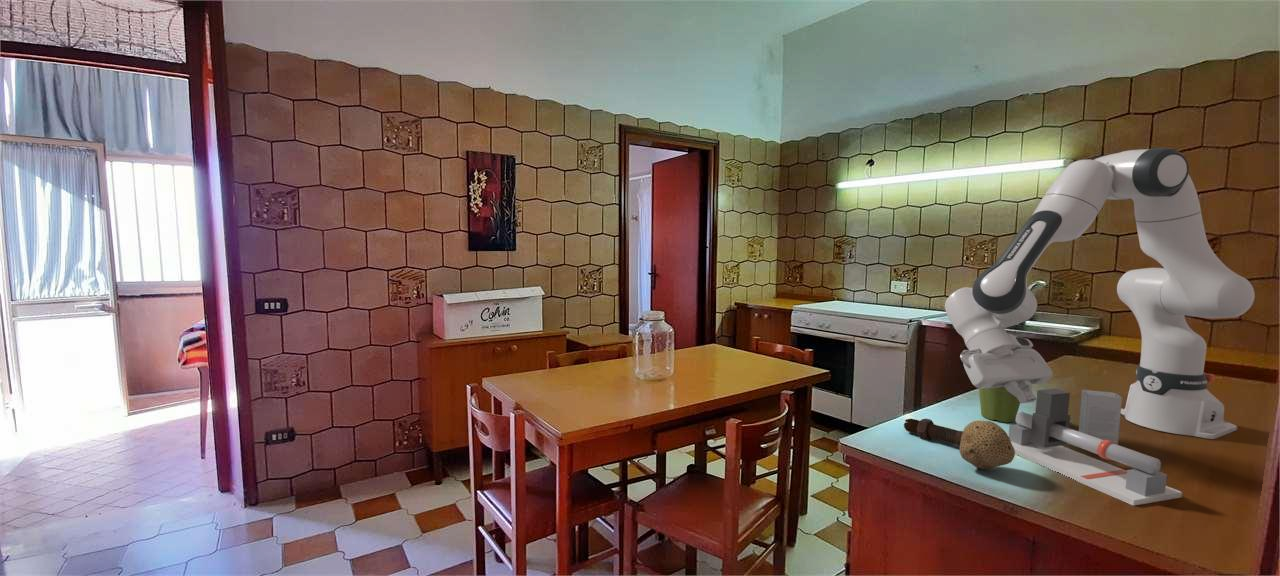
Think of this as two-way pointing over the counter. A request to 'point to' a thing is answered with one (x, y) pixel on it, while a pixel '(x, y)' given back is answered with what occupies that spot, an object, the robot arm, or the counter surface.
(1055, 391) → the collar
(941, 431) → the bolt
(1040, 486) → the counter surface
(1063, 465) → the pipe stand
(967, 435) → the natural sponge
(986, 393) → the plant pot
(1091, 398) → the skincare box
